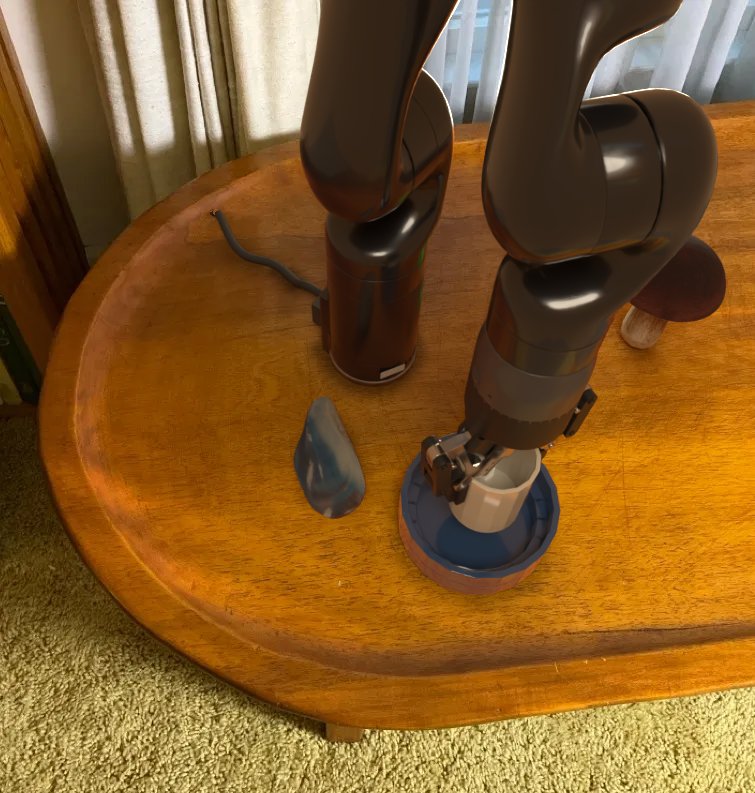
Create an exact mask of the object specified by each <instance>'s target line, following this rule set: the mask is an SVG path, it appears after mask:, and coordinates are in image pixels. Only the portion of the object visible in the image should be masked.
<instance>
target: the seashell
mask: <svg viewBox="0 0 755 793" xmlns="http://www.w3.org/2000/svg"><path fill="white" fill-rule="evenodd" d="M293 454H294V455H293V469H294V472H295V474H296V477H297V481H298V483H299V486H300V487H301V490H302V491H303V493H304V496H305V498H306V500H307V502H308V504H309V506H310V507H311V509H313V510H314V511H315V512H317V513H319V514H320V515H321V516H323V517H325V518H327V519H331V520H334V519H341V518H344V517H347V516H349V515H350V514H352V513H353V512H354V511H356V509H358V507H359V506H360V505H361V504H362V502H363V500H364V498H365V494H366V481H365V477H364V472H363V469H362V466H361V463H360V460H359V458H358V455H357V452H356V450H355V448H354V445H353V443H352V441H351V439H350V437H349V434H348V433H347V431H346V428H345V426H344V424H343V421H342V419H341V416H340V414H339V412H338V410H337V408H336V406H335V404H334V403H333V400H332V399H331V398H330V396H329V397H328V396H319V397H317V398H316V399H314V400H313V401H312V402H311V404H310V406H309V408H308V410H307V413H306V417H305V421H304V426H303V430H302V432H301V434H300V437H299V440H298V442H297V444H296V447H295V450H294V453H293Z"/></svg>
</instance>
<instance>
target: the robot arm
mask: <svg viewBox="0 0 755 793" xmlns="http://www.w3.org/2000/svg"><path fill="white" fill-rule="evenodd" d="M460 1H461V0H320V11H319V22H318V31H317V38H316V46H315V50H314V57H313V63H312V68H311V72H310V78H309V82H308V88H307V92H306V96H305V102H304V105H303V106H304V107H303V111H302V112H303V113H302V116H301V122H300V129H299V140H298V141H299V146H298V147H299V156H300V162H301V167H302V170H303V174H304V177H305V179H306V181H307V185H308V186H309V189H310V191H311V192H312V194H313V196H314V197H315V198H316V200H317V201H318V203H319V204H321V206H322V207H323V208H324V209H325V210H326V211H327V212H326V215H325V220H324V246H325V266H326V267H325V268H326V284H327V285H326V286H324V288H321V287H320V286H317V285H315V284H314V283H312V282H310V281H308V280H306V279H300V278H299V277H298V276H297V275H296V274H295V273H293V272H292V270H290V269H289V268H288V266H286V265H284V264H283V263H281V262H280V261H278V260H276V259H274V258H271V257H268V256H264V255H259V254H255V253H252V252H250V251H248V250H246V249H245V248H243V247H242V246H241V245H240V244H239V243H238V240H237V239H236V238H235V236H234V235H233V232H232V230H231V227H230V226H229V223H228V221H227V219H226V217H225V214H224V213H223V211H222V210H221V211H220V209H219V210H218V211H216V212H215V215H214V214H213V211H212V212H210V211H209V214H210V215H211V217H215V216H216V217H215V218H216V219H217V222H218V225H219V227H220V229H221V231H222V234H223V236H224V238H225V240H226V242H227V243H228V245H229V246H230V248H231V249H232V250H233V252H234V253H235V254H236V255H237V256H239V257H240V258H241V259H243V260H245V261H247V262H250V263H254V264H258V265H262V266H267V267H269V268H272V269H273V270H276V271H277V273H279V274H281V275H282V277H284V278H285V279H286V280H287V281H288V282H290V284H292V285H293V286H295V288H298V289H302V290H305V291H307V292H308V293H311V295H313V296H315V297H317V298H316V299H315V300H314V301H313V302H312V303H311V316H312V323H314V324H316V325H317V326H319V327H320V329H321V341H322V342H321V343H322V346H321V347H322V350H323V351H324V352H326V353H328V354H329V358H330V361H331V363H332V365H333V367H334V368H335V370H336V371H337V373H339V374H340V375H341V376H342V377H343V378H344V379H346V380H347V381H350V382H352V383H353V384H354V383H355V384H357V385H361V386H366V387H379V386H380V387H381V386H386V385H389V384H393V383H394V382H397V381H398V380H400V379H402V378H403V377H404V376H405V375H406V374H407V373H408V372H409V371H410V369H411V368H412V367H413V365H414V362H415V359H416V354H417V345H418V344H417V340H418V332H419V325H420V316H421V308H422V300H423V292H424V284H425V276H426V268H427V267H426V266H427V259H428V249H429V244H430V239H431V238H432V235H433V234H434V232H435V230H436V229H437V226H438V224H439V221H440V219H441V217H442V213H443V209H444V204H445V200H446V192H447V188H448V184H449V179H450V173H451V168H452V163H453V157H454V150H455V149H454V147H455V127H454V120H453V115H452V111H451V108H450V104H449V102H448V99H447V98H446V96H445V94H444V92H443V90H442V89H441V86H440V85H439V84H438V82H437V80H435V78H434V77H433V76H432V75H431V74H429V73H428V71H427V70H425V69H424V66H425V63H426V62H427V61H428V58H429V57H430V55H431V54H432V51H433V49H434V48H435V46H436V44H437V42H438V41H439V39H440V37H441V35H442V33H443V32H444V30H445V28H446V27H447V25H448V24H449V21H450V19H451V17H452V16H453V14H454V12H455V11H456V9H457V7H458V5H459V3H460ZM683 2H684V0H511V8H510V9H511V10H510V16H509V23H508V31H507V37H506V43H505V51H504V57H503V62H502V66H501V74H500V79H499V82H498V83H499V84H498V89H497V94H496V98H495V103H494V107H493V112H492V115H491V120H490V124H489V129H488V133H487V138H486V143H485V147H484V154H483V161H482V166H481V182H480V192H481V194H480V195H481V196H480V197H481V202H482V209H483V213H484V217H485V221H486V223H487V225H488V228H489V230H490V232H491V234H492V236H493V237H494V239H495V240H496V242H497V243H498V245H499V246H500V248H502V249H503V251H505V253H504V255H503V257H502V259H501V261H500V262H499V265H498V268H497V271H496V274H495V278H494V281H493V286H492V291H491V295H490V299H489V303H488V308H487V312H486V315H485V318H484V320H483V321H482V324H481V326H480V328H479V331H478V333H477V337H476V340H475V341H476V342H475V346H474V349H473V353H472V358H471V362H470V366H469V371H468V375H467V380H466V385H465V389H464V394H463V395H464V396H463V400H464V401H463V403H464V417H465V418H464V419H463V421H462V422H461V423H460V424H459V426H458V427H457V429H456V432H457V435H455V436H453V437H451V438H449V439H447V440H445V441H443V442H442V441H441V440H438V437H437V436H436V435H435V434H432V435H429V436H427V437H425V438H424V439H423V440H422V441H421V443H420V451H421V471H422V473H423V475H424V477H425V478H426V480H427V482H428V484H429V485H430V487H431V489H432V491H433V492H434V494H435V496H436V497H441V496H444V495H445V497H446V499H447V500H448V502H449V503H450V502H454V504H455V505H459V504H461V503H463V502H465V498H466V495H467V492H468V488H469V484H470V483H471V482H472V481H473V480H474V479H475V478H476V477H481V476H485V475H487V474H488V473H489V472H490V471H491V470H492V469H493V468H494V467H495V466H496V465H497V464H498V462H499V461H500V460H501V459H502V458H505V457H509V456H510V455H511V454H512V453H513V452H514V451H515V450H531V449H537V448H539V451H540V454H541V462H542V461H543V460H544V458H545V457H546V455H547V452H548V451H549V450H552V449H553V448H555V447H556V445H557V444H558V442H559V441H558V440H557V439H558V438H559V437H561V436H562V435H563V437H564V438H565V439H568V438H572V437H573V436H575V435H576V434H577V433H578V431H579V429H580V428H581V427H582V425H583V423H584V421H585V420H586V418H587V417H588V415H589V414H590V411H591V410H592V409H593V407H594V405H595V403H596V402H597V400H598V399H599V396H598V395H597V394H596V392H595V391H594V389H593V387H592V386H591V385H590V384H589V382H590V380H591V379H592V376H593V372H594V370H595V368H596V364H597V360H598V355H599V351H600V349H601V347H602V345H603V343H604V340H605V338H606V336H607V334H608V332H609V330H610V328H611V326H612V324H613V322H614V319H615V317H616V314H617V313H618V312H619V311H620V310H621V309H622V308H623V307H625V306H626V305H627V304H628V303H629V301H630V300H631V299H633V298H634V297H635V296H636V295H637V294H638V293H639V292H640V291H641V290H642V289H643V288H644V287H645V286H646V285H647V284H648V283H649V282H650V280H651V279H652V278H653V277H654V276H655V275H656V274H657V273H658V272H659V271H660V270H661V269H662V268H663V267H664V266H665V265H666V264H667V263H668V262H669V261H670V260H671V259H672V258H673V257H674V255H675V254H676V253H677V252H678V251H679V250H680V249H681V247H682V246H683V245H684V244H685V242H686V241H687V240H688V239H689V237H690V236H691V235H693V234H694V232H695V231H696V229H697V228H698V226H699V224H700V223H701V221H702V219H703V218H704V215H705V213H706V211H707V208H708V207H709V204H710V202H711V199H712V196H713V193H714V190H715V186H716V180H717V176H718V168H719V148H718V140H717V135H716V132H715V128H714V125H713V123H712V122H711V120H710V118H709V115H708V113H707V112H706V111H705V109H703V107H702V106H701V104H700V103H698V102H697V101H695V100H694V99H693V98H692V97H691V96H689V95H687V94H685V93H683V92H681V91H678V90H674V89H670V88H646V89H638V90H633V91H632V90H631V91H625V92H621V93H616V94H610V95H604V96H603V95H602V96H598V97H592V98H586V99H584V97H585V94H586V92H587V89H588V88H589V85H590V82H591V81H592V78H593V77H594V76H593V75H594V74H595V71H596V69H597V68H598V66H599V64H600V62H601V61H602V60H603V58H604V57H605V56H606V55H607V54H609V53H610V52H612V51H613V50H614V49H615V48H617V47H619V46H621V45H622V44H625V43H627V42H629V41H631V40H633V39H635V38H638V37H640V36H642V35H644V34H647V33H649V32H652V31H654V30H655V29H658V28H659V27H661V26H663V25H665V24H666V23H667V22H669V21H670V20H671V19H672V18H673V17H675V15H677V13H678V12H679V10H680V8H681V6H682V5H683ZM479 456H480V457H483V458H485V459H484V460H483V461H481V459H480V458H479ZM460 460H461V462H462V463H463V465H464V467H465V472H464V473H463V472H462V470H461V469H460V467H459V465H458V464H457V463H458V462H459V461H460Z"/></svg>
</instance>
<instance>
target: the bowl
mask: <svg viewBox="0 0 755 793" xmlns="http://www.w3.org/2000/svg"><path fill="white" fill-rule="evenodd" d="M455 435H457V431H456V432H453V433H450V434H449V433H448V434H445V435H443V436H440V437H437V439H438V440H441V441H442V442H443V441H445V440H447V439H449V438H451V437H453V436H455ZM560 516H561V506H560V500H559V493H558V487H557V485H556V483H555V481H554V480H553V477H552V476H551V473H550V471H549V470H548V468H547V466H546V464H544V463H543V462H542V461H541V464H540V471H539V473H538V475H537V477H536V480H535V482H534V484H533V486H532V488H531V490H530V492H529V494H528V497H527V499H526V501H525V503H524V505H523V507H522V509H521V511H520V513H519V514H518V516H517V518H516V519H515V521H514V522H513V523H512V524H511V525H510V526H508V527H507V528H505V529H503V530H501V531H498V532H493V533H483V532H477V531H474V530H472V529H469V528H468V527H466V526H464V525H463V524H462V523H461V522H459V521H458V520H457V518H456V517H455V516H454V514H453V513H452V511H451V509H450V506H449V502H448V500H447V499H446V497H445V495H444V496H441V497H436V496H435V494H434V492H433V491H432V489H431V487H430V485H429V484H428V482H427V480H426V478H425V477H424V475H423V473H422V471H421V450H420V451H419V452H418V453H417V454H416V456H415V457H414V459H413V460H412V462H411V463H410V464H409V465H408V467H407V468H406V471H405V475H404V478H403V481H402V485H401V488H400V492H399V501H398V509H397V517H398V533H399V536H400V540H401V542H402V544H403V547H404V549H405V552H406V554H407V556H408V557H409V558H410V560H411V561H412V562H413V563H414V564H415V566H416V567H417V569H418V570H419V571H420V572H421V573H422V574H423V575H424V576H426V577H427V578H429V579H430V580H431V581H433V582H435V583H436V584H438V585H439V586H441V587H443V588H444V589H447V590H450V591H454V592H457V593H462V594H464V595H471V596H472V595H493V594H497V593H499V592H502V591H505V590H508V589H511V588H513V587H516V586H517V585H519V584H520V583H522V582H523V581H524V580H525V579H526V578H527V577H528V576H530V575H531V574H532V573H533V572H534V571H535V570H536V568H537V566H538V565H539V563H540V562H541V561H542V559H543V557H544V556H545V554H546V552H547V551H548V549H549V547H550V546H551V544H552V542H553V541H554V539H555V537H556V535H557V533H558V527H559V522H560Z"/></svg>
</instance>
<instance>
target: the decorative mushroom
mask: <svg viewBox="0 0 755 793" xmlns="http://www.w3.org/2000/svg"><path fill="white" fill-rule="evenodd" d="M726 292H727V278H726V271H725V267H724V265H723V262H722V260H721V258H720V257H719V255H718V254H717V253H716V251H715V250H714V249H713V248H712V247H711V246H710V245H709V244H707V242H705V241H704V240H703V239H700V238H699V237H697V236H695V235H693V234H692V235H691V236H690V237H689V239H688V240H687V241H686V242H685V244H684V245H683V246H682V247H681V249H680V250H679V251H678V252H677V253H676V254H675V255H674V257H673V258H672V259H671V260H670V261H669V262H668V263H667V264H666V265H665V266H664V267H663V268H662V269H661V270H660V271H659V272H658V273H657V274H656V275H655V276H654V277H653V278H652V279H651V280H650V282H649V283H648V284H647V285H646V286H645V287H644V288H643V289H642V290H641V291H640V292H639V293H638V294H637V295H636V296H635V297H634V298H633V299H631V300H630V301H629V302H628V303H629V304H630V305H631V306H630V308H629V310H628V311H627V313H626V315H625V316H624V318H623V320H622V323H621V329H620V332H621V337H622V339H623V341H624V342H625V343H626V344H628V345H629V346H630V347H632V348H635V349H641V350H642V349H643V350H646V349H649V348H651V347H652V346H654V345H655V344H656V343H657V341H658V340H659V339H660V338H661V337H662V334H663V333H664V331H665V329H666V327H667V326H668V323H669V322H673V323H692V322H698V321H701V320H704V319H706V318H708V317H711V316H712V315H713V314H714V313H716V311H717V310H718V309H720V307H721V306H722V304H723V302H724V299H725V297H726Z"/></svg>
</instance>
